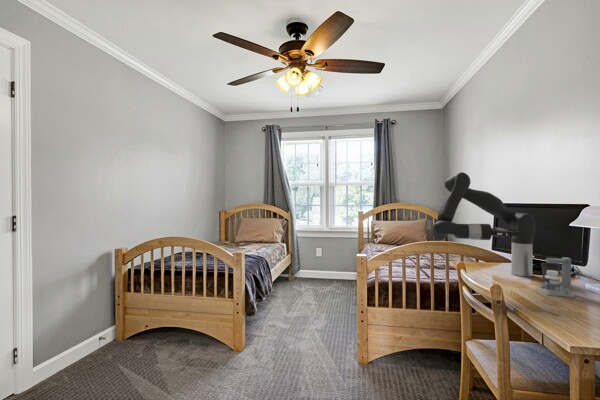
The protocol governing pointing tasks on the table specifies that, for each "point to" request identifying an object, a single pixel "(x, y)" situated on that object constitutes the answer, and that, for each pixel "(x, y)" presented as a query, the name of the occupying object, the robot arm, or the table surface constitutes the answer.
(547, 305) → the table surface
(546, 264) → the coffee cup
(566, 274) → the stand
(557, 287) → the pill bottle
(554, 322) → the table surface
